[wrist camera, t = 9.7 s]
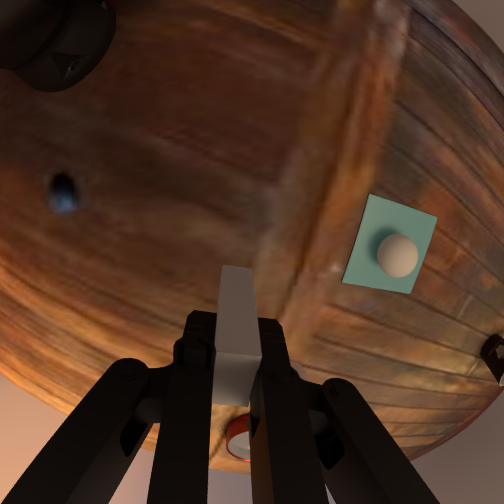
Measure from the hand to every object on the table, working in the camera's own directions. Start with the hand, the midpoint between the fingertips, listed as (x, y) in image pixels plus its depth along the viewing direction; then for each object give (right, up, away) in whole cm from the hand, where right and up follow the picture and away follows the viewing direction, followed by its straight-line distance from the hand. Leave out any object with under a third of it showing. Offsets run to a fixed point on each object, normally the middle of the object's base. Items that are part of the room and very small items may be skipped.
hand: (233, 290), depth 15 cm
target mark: (+20, +3, +20) cm, 28 cm away
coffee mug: (+57, -19, +30) cm, 67 cm away
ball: (+19, +2, +18) cm, 26 cm away
